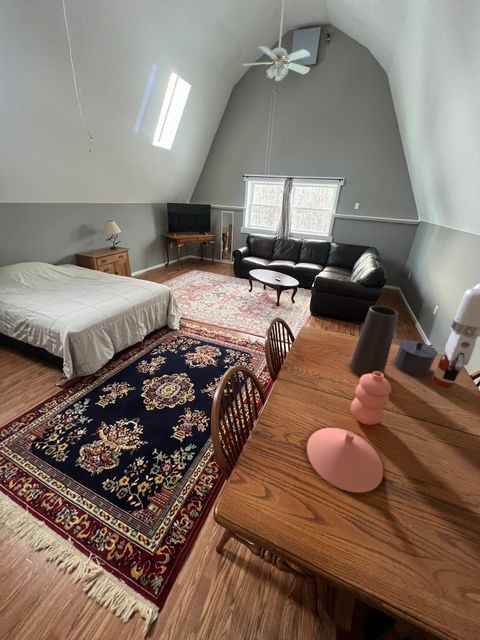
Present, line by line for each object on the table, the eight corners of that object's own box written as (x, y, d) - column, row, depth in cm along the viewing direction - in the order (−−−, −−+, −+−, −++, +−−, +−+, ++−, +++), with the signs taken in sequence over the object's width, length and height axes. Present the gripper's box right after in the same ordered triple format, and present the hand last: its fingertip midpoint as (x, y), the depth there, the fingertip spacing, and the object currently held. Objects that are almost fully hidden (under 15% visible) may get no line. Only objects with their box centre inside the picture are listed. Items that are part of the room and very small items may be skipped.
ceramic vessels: (370, 510, 65) (393, 457, 57) (294, 459, 77) (303, 409, 69) (400, 426, 90) (419, 381, 82) (339, 397, 102) (350, 355, 94)
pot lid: (428, 344, 124) (431, 336, 122) (442, 361, 111) (446, 353, 109) (394, 340, 126) (397, 332, 125) (404, 356, 114) (407, 347, 112)
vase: (344, 369, 119) (359, 308, 106) (358, 358, 127) (374, 301, 115) (375, 384, 110) (395, 320, 97) (388, 371, 118) (408, 311, 106)
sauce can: (448, 378, 96) (457, 357, 93) (457, 390, 91) (467, 368, 87) (429, 376, 98) (437, 355, 94) (436, 387, 92) (445, 365, 88)
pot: (421, 361, 127) (428, 343, 123) (433, 378, 115) (441, 359, 111) (390, 356, 130) (396, 339, 126) (399, 373, 118) (406, 354, 114)
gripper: (489, 342, 76) (465, 392, 84) (474, 320, 90) (454, 364, 98) (457, 336, 79) (437, 384, 87) (447, 315, 93) (430, 358, 101)
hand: (446, 373), depth 92 cm, fingers closed on sauce can, 6 cm apart
